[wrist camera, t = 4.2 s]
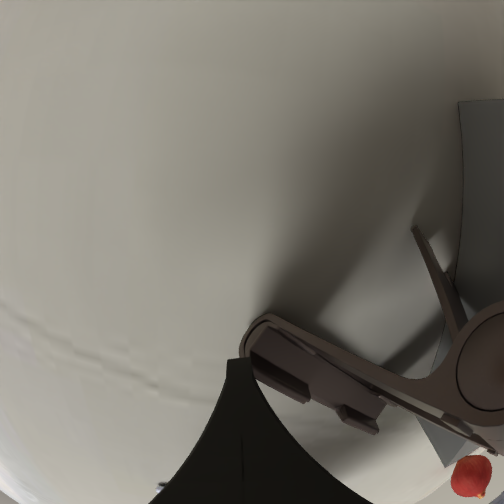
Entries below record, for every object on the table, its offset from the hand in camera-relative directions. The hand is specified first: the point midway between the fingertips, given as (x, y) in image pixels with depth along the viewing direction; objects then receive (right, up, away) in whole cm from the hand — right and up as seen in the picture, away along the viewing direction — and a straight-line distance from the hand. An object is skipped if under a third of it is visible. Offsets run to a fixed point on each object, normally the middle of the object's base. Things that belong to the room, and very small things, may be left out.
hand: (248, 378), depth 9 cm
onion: (+27, -22, +12) cm, 37 cm away
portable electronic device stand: (+5, +1, +2) cm, 6 cm away
